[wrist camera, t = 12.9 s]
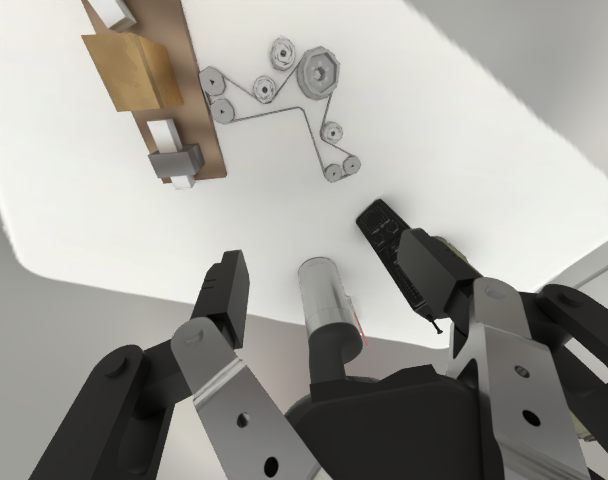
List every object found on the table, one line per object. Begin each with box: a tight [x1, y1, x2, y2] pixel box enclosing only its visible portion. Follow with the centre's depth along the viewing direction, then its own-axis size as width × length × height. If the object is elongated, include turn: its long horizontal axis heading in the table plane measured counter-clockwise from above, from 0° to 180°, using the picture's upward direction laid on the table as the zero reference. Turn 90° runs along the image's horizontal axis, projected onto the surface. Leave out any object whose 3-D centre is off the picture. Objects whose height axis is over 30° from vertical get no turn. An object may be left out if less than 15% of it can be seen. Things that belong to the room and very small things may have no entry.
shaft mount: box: [81, 0, 227, 190], centre depth 26 cm, size 27×10×7 cm, turn 4°
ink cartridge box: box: [347, 296, 369, 348], centre depth 59 cm, size 2×11×10 cm, turn 20°
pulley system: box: [199, 36, 361, 183], centre depth 32 cm, size 27×5×15 cm
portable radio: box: [356, 199, 443, 334], centre depth 36 cm, size 8×6×25 cm
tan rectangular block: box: [81, 33, 184, 112], centre depth 25 cm, size 6×4×8 cm
